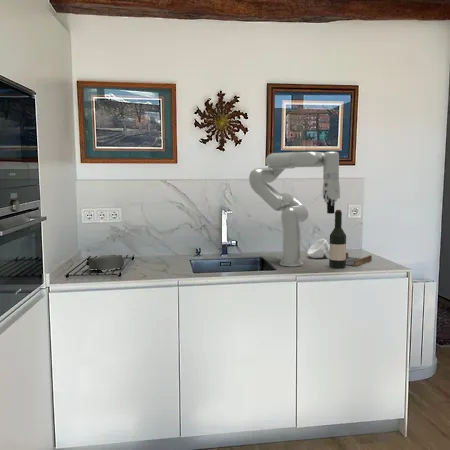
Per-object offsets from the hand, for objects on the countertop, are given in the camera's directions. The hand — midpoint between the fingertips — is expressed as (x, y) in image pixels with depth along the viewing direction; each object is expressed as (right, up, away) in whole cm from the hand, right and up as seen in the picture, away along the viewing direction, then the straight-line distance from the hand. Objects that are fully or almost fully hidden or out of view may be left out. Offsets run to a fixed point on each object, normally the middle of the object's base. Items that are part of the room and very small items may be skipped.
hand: (330, 213), depth 223 cm
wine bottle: (+6, -28, +10) cm, 31 cm away
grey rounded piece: (-116, -30, +9) cm, 120 cm away
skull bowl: (+3, -25, +36) cm, 44 cm away
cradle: (+17, -26, +22) cm, 38 cm away
